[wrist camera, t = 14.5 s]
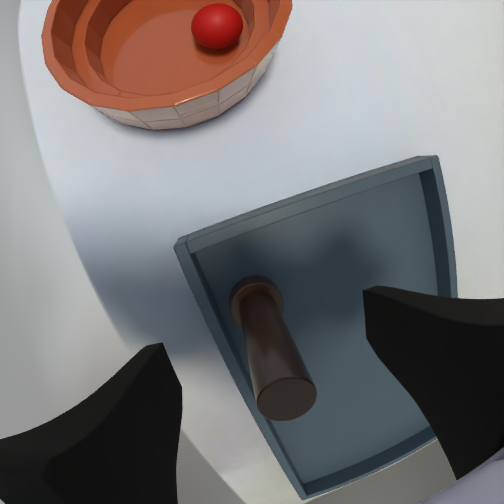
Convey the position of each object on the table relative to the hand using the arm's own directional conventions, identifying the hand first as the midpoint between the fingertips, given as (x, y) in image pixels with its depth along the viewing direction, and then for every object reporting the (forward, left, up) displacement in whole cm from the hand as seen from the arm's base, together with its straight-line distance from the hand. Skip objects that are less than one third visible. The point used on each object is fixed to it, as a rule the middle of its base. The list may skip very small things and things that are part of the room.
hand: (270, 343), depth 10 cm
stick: (0, -1, -6) cm, 6 cm away
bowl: (+1, +13, -6) cm, 15 cm away
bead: (+3, +13, -4) cm, 14 cm away
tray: (+5, -8, -6) cm, 11 cm away
